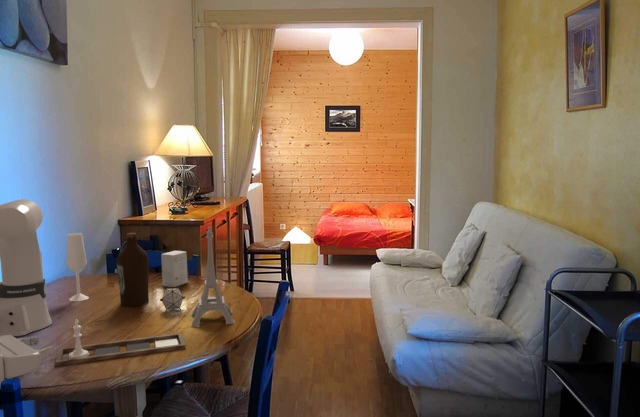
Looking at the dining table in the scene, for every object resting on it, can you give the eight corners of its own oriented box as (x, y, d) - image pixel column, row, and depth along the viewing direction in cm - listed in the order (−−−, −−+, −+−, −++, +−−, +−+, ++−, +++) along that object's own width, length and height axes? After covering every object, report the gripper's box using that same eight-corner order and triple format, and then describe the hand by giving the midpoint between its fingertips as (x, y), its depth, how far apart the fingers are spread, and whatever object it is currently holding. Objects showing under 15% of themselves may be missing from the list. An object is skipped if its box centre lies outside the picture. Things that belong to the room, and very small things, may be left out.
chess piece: (91, 352, 142) (89, 316, 141) (84, 359, 137) (82, 322, 136) (73, 352, 142) (71, 316, 140) (65, 359, 137) (62, 322, 136)
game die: (176, 321, 177) (176, 304, 171) (154, 312, 179) (153, 294, 172) (190, 303, 184) (190, 285, 177) (169, 293, 185) (168, 275, 179)
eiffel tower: (191, 314, 174) (188, 224, 171) (231, 311, 177) (229, 223, 174) (190, 327, 161) (187, 231, 158) (234, 324, 164) (232, 229, 161)
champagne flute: (88, 300, 191) (84, 234, 188) (68, 302, 188) (63, 236, 186) (89, 295, 197) (85, 232, 194) (69, 297, 195) (65, 233, 192)
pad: (156, 350, 143) (156, 349, 143) (154, 341, 149) (154, 340, 149) (179, 347, 145) (179, 346, 145) (176, 338, 151) (176, 338, 151)
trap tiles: (94, 358, 137) (94, 357, 137) (95, 349, 144) (95, 348, 144) (150, 351, 142) (150, 350, 142) (149, 342, 149) (149, 341, 149)
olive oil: (147, 297, 194) (144, 230, 192) (152, 304, 185) (149, 234, 182) (117, 301, 189) (113, 232, 187) (121, 308, 180) (117, 236, 177)
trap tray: (55, 366, 133) (55, 362, 133) (59, 351, 142) (59, 348, 142) (185, 348, 144) (185, 344, 144) (181, 336, 153) (181, 333, 153)
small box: (176, 281, 217) (175, 250, 216) (188, 282, 214) (187, 251, 213) (162, 285, 210) (160, 253, 209) (174, 287, 207) (172, 255, 206)
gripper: (-31, 362, 129) (30, 346, 139) (-1, 386, 116) (63, 367, 126) (-33, 337, 128) (28, 323, 139) (-4, 359, 115) (61, 341, 125)
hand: (45, 344), depth 132 cm, fingers open, 8 cm apart
